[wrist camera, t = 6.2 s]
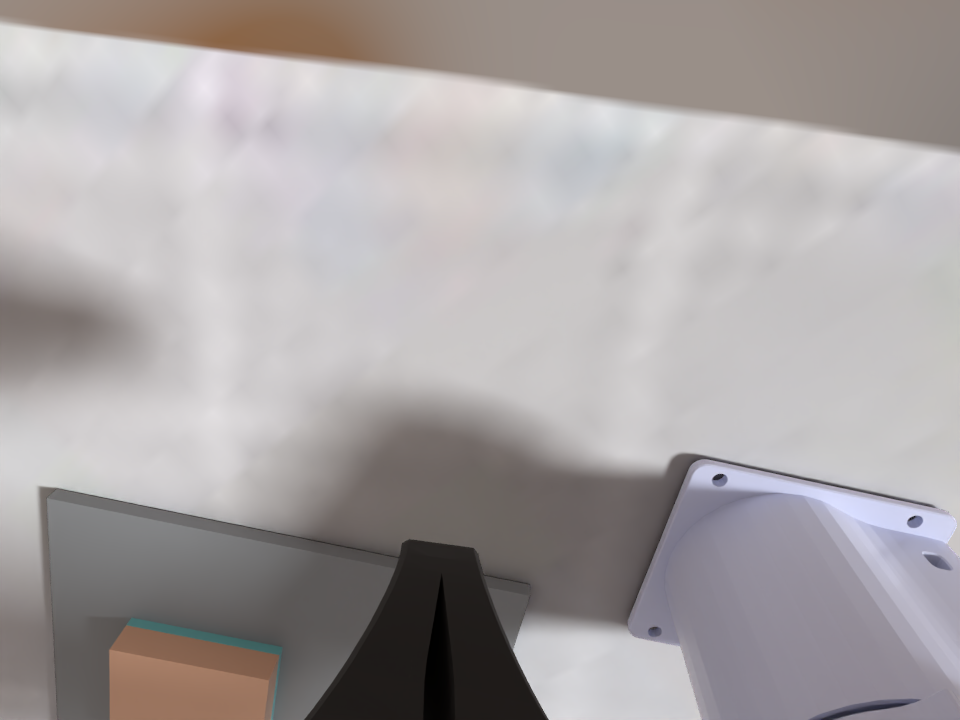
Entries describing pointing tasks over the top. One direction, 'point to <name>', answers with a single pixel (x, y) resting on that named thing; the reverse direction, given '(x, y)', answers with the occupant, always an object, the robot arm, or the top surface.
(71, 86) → the top surface
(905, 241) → the top surface
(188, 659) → the tile
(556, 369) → the top surface
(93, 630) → the board
